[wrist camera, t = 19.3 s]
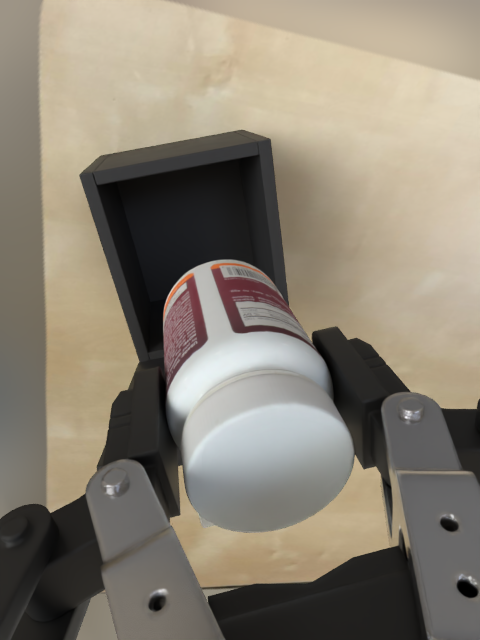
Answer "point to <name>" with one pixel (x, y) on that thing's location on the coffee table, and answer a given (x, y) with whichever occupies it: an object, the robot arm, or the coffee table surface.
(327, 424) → the pill bottle
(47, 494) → the coffee table surface
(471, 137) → the coffee table surface
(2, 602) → the robot arm
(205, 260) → the dark grey hollow box
